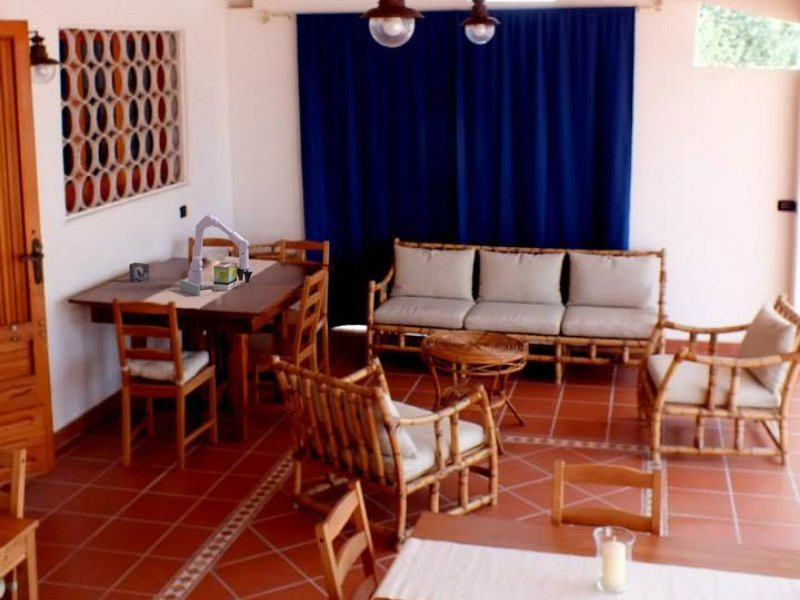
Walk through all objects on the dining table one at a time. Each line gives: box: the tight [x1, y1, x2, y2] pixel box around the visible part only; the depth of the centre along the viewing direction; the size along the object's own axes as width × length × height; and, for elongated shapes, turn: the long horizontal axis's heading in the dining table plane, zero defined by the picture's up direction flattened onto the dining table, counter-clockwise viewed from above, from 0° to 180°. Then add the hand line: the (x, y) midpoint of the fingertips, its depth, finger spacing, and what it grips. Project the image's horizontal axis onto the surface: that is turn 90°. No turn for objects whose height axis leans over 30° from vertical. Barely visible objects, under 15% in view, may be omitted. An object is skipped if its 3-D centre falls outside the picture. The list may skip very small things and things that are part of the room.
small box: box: [128, 262, 150, 282], centre depth 720 cm, size 11×6×10 cm, turn 68°
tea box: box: [213, 261, 238, 291], centre depth 702 cm, size 15×10×15 cm
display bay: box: [179, 278, 213, 297], centre depth 691 cm, size 22×9×6 cm, turn 38°
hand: (244, 281), depth 711 cm, fingers open, 7 cm apart
